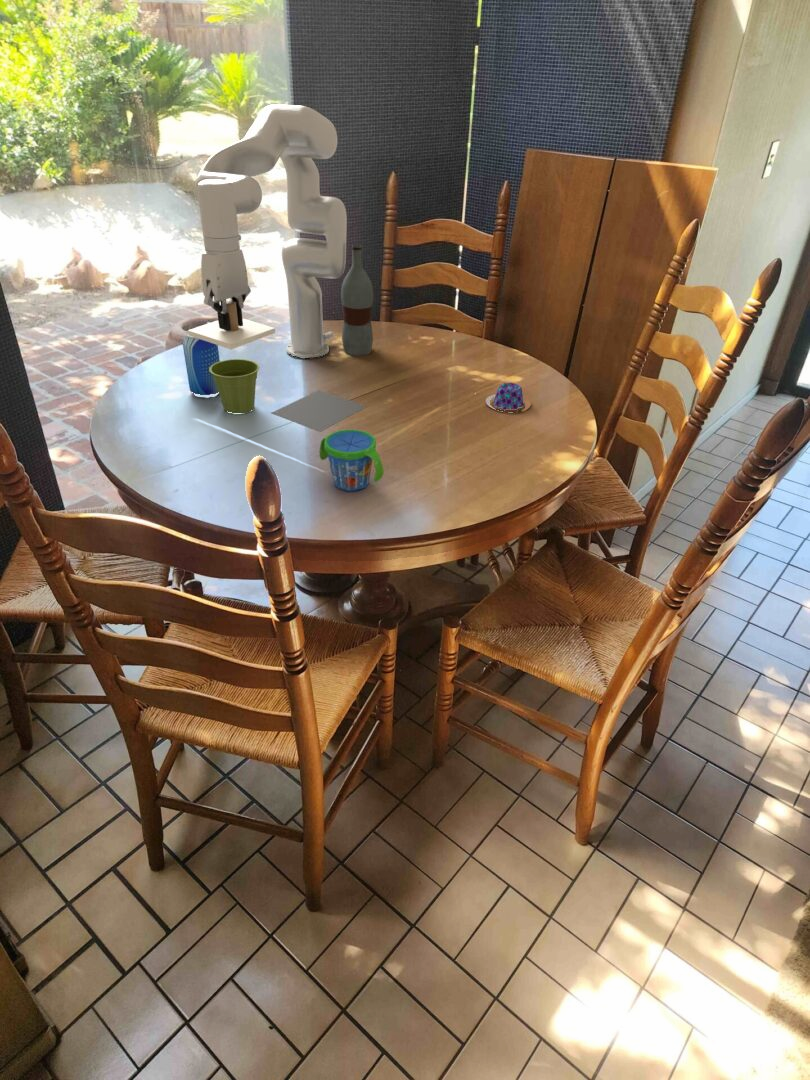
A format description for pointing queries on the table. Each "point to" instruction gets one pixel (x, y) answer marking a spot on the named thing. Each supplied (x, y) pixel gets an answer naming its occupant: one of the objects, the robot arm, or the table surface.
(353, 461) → the snack cup
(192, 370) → the beer can
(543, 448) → the table surface
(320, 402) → the mat
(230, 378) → the plant pot
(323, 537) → the table surface
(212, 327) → the lid
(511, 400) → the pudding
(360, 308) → the bottle
